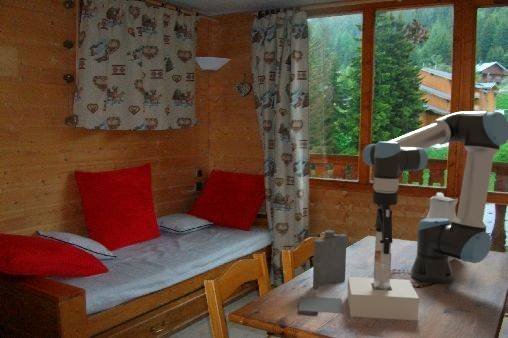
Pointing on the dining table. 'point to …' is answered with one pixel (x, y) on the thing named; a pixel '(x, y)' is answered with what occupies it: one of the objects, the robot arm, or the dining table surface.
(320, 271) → the hip flask
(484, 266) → the dining table surface
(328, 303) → the slate mat
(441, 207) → the pitcher
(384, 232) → the robot arm
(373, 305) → the bore block
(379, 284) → the steel plug
